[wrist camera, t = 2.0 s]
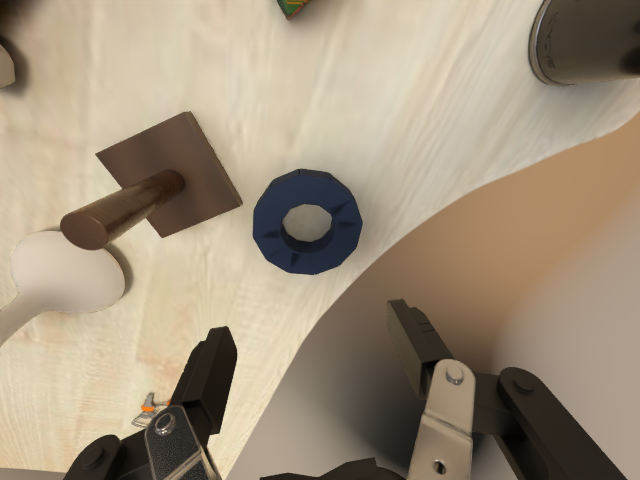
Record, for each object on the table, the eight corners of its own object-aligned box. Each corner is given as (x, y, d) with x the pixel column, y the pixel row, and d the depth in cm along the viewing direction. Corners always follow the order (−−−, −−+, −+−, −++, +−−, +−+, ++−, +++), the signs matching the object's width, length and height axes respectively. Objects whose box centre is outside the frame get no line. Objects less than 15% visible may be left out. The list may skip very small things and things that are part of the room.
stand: (190, 111, 24) (87, 114, 13) (242, 201, 29) (203, 266, 17) (105, 151, 26) (-66, 189, 14) (168, 232, 30) (81, 314, 18)
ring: (336, 152, 27) (340, 157, 25) (367, 242, 33) (373, 253, 30) (238, 194, 29) (231, 202, 26) (283, 273, 34) (282, 287, 31)
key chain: (165, 431, 49) (162, 436, 48) (126, 420, 46) (123, 425, 46) (196, 398, 45) (194, 403, 44) (155, 384, 42) (152, 389, 42)
